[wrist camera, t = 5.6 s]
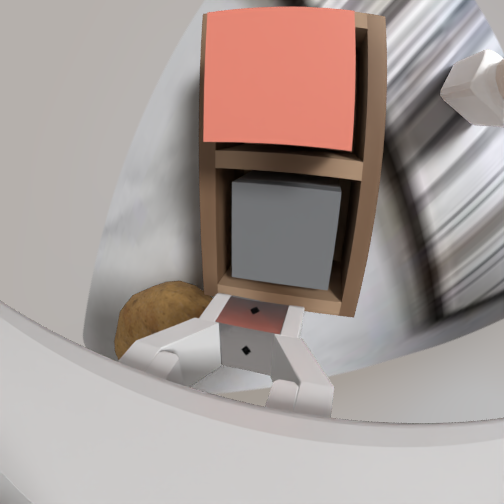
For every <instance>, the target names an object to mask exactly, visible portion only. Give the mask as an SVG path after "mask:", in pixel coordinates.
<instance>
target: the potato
mask: <svg viewBox="0 0 504 504" xmlns="http://www.w3.org/2000/svg"><path fill="white" fill-rule="evenodd" d="M212 299H213V298H212V297H210V296H208V295H204V292H203V291H202V290H201V289H199V288H198V287H197V286H195V285H192V284H188V283H185V282H182V281H172V282H165V283H162V284H159V285H156V286H153V287H151V288H149V289H146V290H144V291H141V292H139V293H137V294H135V295H133V296H132V297H131V298H130V299H129V301H128V302H127V303H126V304H125V306H124V307H123V308H122V310H121V311H120V314H119V320H118V326H117V331H116V336H115V340H114V343H115V352H116V355H117V357H118V359H120V358H121V357H122V356H123V355H124V354H125V352H126V351H127V350H128V349H129V348H130V347H131V346H132V344H133V343H134V342H135V341H136V340H139V339H141V338H144V337H147V336H149V335H152V334H154V333H157V332H160V331H162V330H165V329H167V328H170V327H172V326H175V325H177V324H180V323H183V322H185V321H188V320H190V319H193V318H199V317H200V316H201V315H202V313H203V312H204V310H205V309H206V308H207V306H208V305H209V303H210V302H211V301H212Z"/></svg>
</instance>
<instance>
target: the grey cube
mask: <svg viewBox="0 0 504 504" xmlns="http://www.w3.org/2000/svg"><path fill="white" fill-rule="evenodd" d="M340 201H341V187H340V182H339V178H336V177H327V176H318V175H309V174H299V173H288V172H276V171H262V170H252V171H250V172H248V173H246V174H245V175H243V176H241V177H240V178H238V179H236V180H234V181H233V182H232V277H236V278H242V279H249V280H256V281H263V282H270V283H277V284H284V285H291V286H298V287H305V288H313V289H320V290H328V286H329V280H330V274H331V267H332V261H333V254H334V248H335V241H336V233H337V226H338V218H339V210H340Z"/></svg>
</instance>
